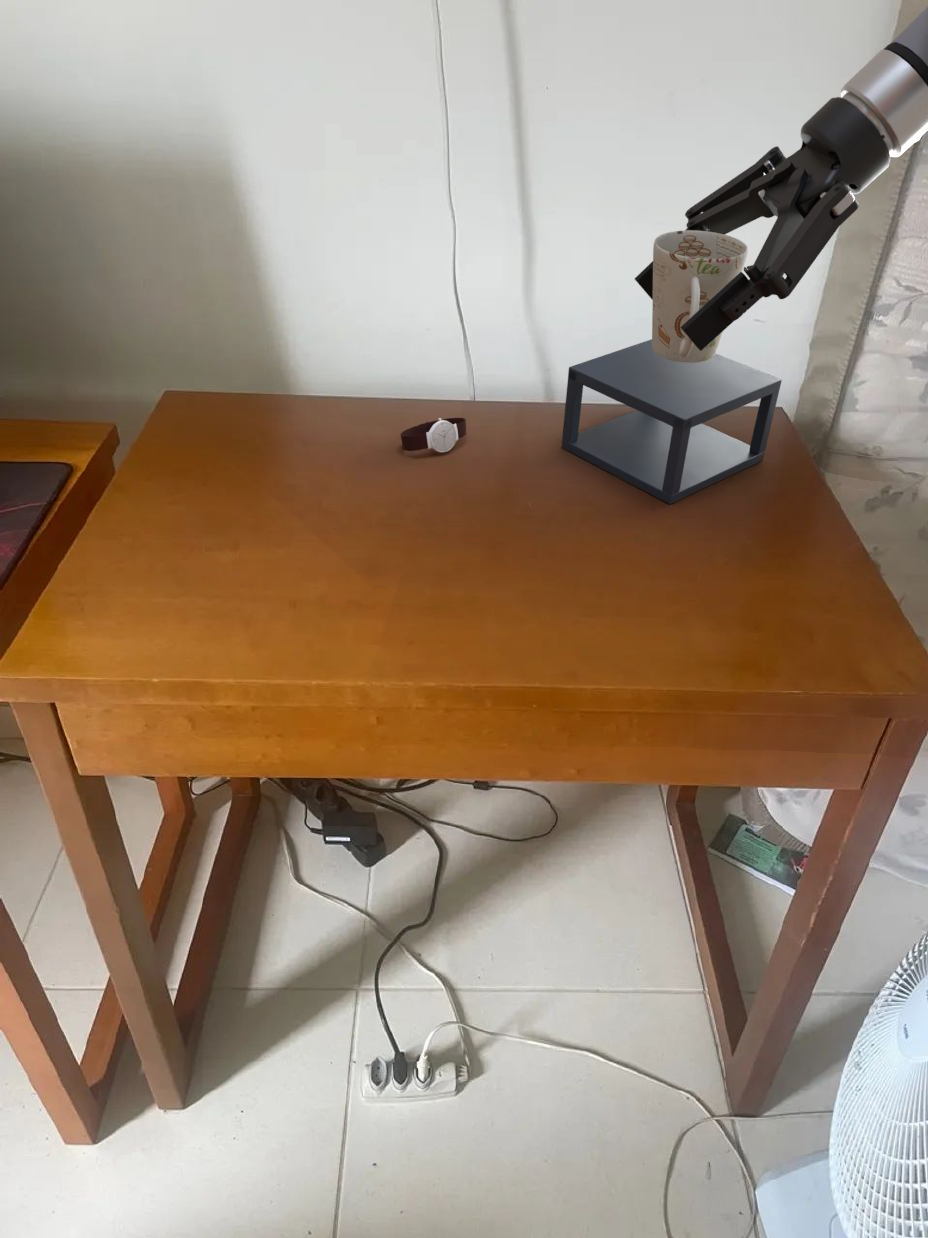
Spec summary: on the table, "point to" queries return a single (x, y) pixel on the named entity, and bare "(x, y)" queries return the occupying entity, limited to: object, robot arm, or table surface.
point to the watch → (434, 435)
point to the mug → (689, 286)
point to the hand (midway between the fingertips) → (665, 313)
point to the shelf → (668, 419)
